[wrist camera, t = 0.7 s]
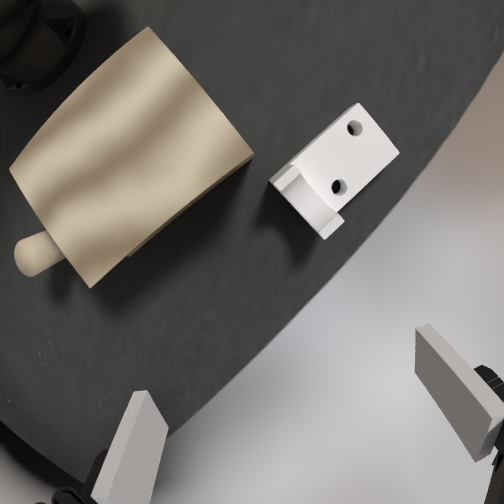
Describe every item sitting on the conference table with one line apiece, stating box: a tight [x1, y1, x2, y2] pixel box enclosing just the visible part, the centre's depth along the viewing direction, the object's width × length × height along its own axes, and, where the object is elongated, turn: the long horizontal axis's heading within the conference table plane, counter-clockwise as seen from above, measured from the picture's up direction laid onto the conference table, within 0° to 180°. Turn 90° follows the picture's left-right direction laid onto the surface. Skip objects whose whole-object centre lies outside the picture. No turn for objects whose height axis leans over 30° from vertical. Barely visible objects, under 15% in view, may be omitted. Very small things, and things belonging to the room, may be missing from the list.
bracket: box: [269, 103, 399, 240], centre depth 32 cm, size 13×7×8 cm, turn 134°
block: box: [14, 230, 66, 277], centre depth 31 cm, size 7×22×10 cm, turn 127°
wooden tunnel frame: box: [9, 27, 254, 288], centre depth 29 cm, size 14×18×12 cm
